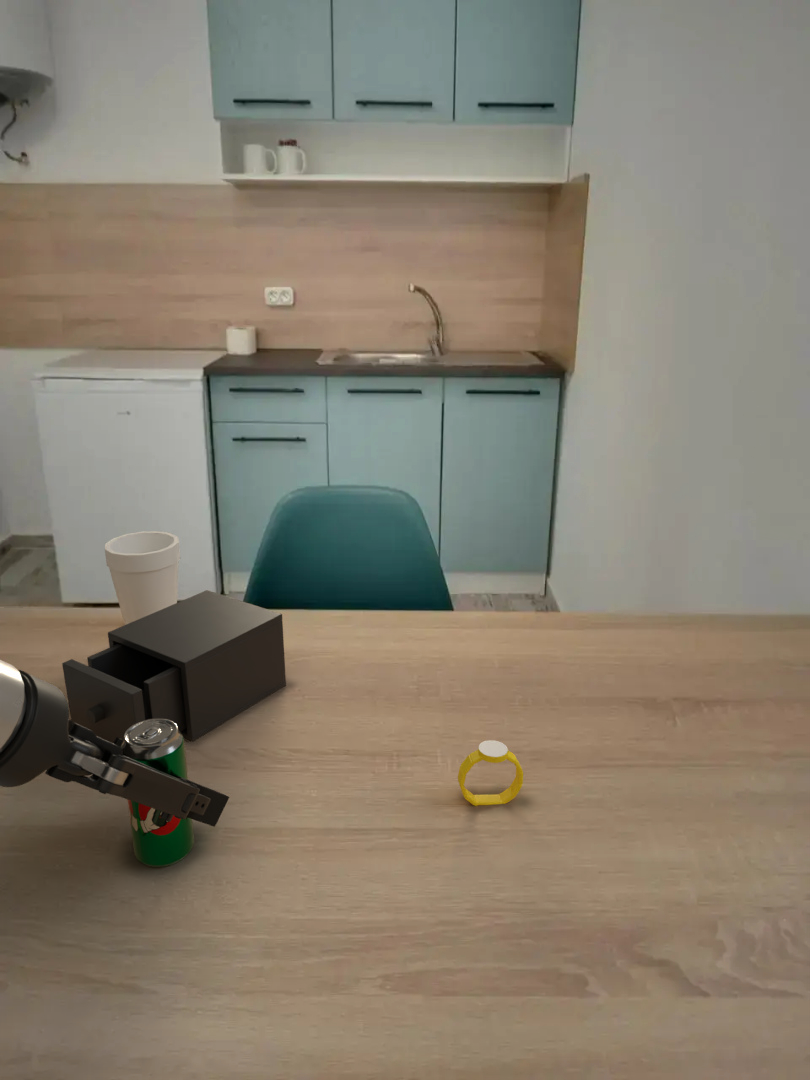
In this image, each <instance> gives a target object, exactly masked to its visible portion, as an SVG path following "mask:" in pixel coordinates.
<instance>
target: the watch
mask: <svg viewBox="0 0 810 1080" xmlns="http://www.w3.org/2000/svg"><path fill="white" fill-rule="evenodd" d="M506 760H507V761H509V762H511V763H512V764H514V766H515V777H514V779H513V781H512V782H511V783H510V786H509V787H508V788H506V789H505V790H504V791H503V790H502V792H500V793H498V794H473V793H472V792H471V791H470V790H468V789H467V788H466V787H465V782H466V777H467V774H468V773H469V772H470V770H471V769H472V768H473V766H474V765H476V764H478V763H479V762H482V761H484V762H487V763H491V764H499V763H502V762H505V761H506ZM458 768H459V769H458V773H457V781H458V784H459V788H460V790H461V794H462V796H463V798H464V799H465V800H466V801H467V802H469V803H470V804H471V805H472V806H475V807H478V806H494V805H495V806H496V805H505V804H507V803H509V802H511V801H512V800H514V799H515V798H516V797H517V796H518V794H519V792H520V790H521V789H522V787H523V784H524V771H523V768H522V766H521V763H520V762H519V760H518V758H517V757H516V755H515V754H514V753H513V752H512V751H510V750H509V748H508V747H507V745H506V744H505V743H503V742H502V741H498V740H495V739H494V740H491V739H489V740H484V741H482V742H480V743H479V745H478V747H477V749H476V750H474V751H472V752H470V753H469V754H468V755H467V756H466V757H465V759H463V761H462V762H461V764H460V766H459V767H458Z"/></svg>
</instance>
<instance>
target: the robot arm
mask: <svg viewBox="0 0 810 1080" xmlns="http://www.w3.org/2000/svg"><path fill="white" fill-rule="evenodd" d="M123 741H124V740H122V739H120V738H118V737H116V738H115V740H114V742H113V743H111V742H109V741H107V740H104V739H102V738H100V737H98V736H96V734H95V733H94V732H93V731H91V730H89V729H88V728H86V727H83V726H81V725H79V724H76V723H73V721H72V720H71V719H70V710H69V704H68V699H67V698H66V695H65V694H64V692H63V691H62V690H61V689H60V688H59V687H57V686H56V684H55V685H54V684H52V683H50V682H48V681H47V680H44V679H41V678H39V677H37V676H35V675H33V674H31V673H28V672H26V671H24V670H21V669H17V668H16V666H14V665H13V664H11V663H8V662H6V661H4V660H2V659H0V787H2V788H15V787H20V786H23V785H25V784H27V783H29V782H31V781H33V780H34V779H36V778H38V777H39V776H40V775H41V774H43V773H44V774H46V775H47V776H49V777H52V778H54V779H56V780H59V781H61V782H64V783H71V782H74V783H76V784H79V785H82V786H84V787H88V788H90V789H92V790H95V791H98V793H101V794H103V795H106V794H108V795H112V796H115V797H120V798H122V799H125V800H127V799H128V800H131V801H134V802H137V803H140V804H142V805H145V806H148V807H151V808H154V809H157V810H160V811H163V812H162V814H161V816H160V817H162V818H163V819H165V820H166V821H168V822H170V821H171V819H172V817H173V815H174V817H176V818H178V819H186V817H187V818H190V819H192V821H193V820H194V821H197V822H200V823H202V824H205V825H207V826H211V827H213V828H216V825H217V824H218V821H219V819H220V817H221V815H222V813H223V812H224V809H225V807H226V805H227V803H228V801H229V799H230V796H228V795H226V794H224V793H222V792H219V791H217V790H215V789H212V788H210V787H207V786H206V785H203V784H200V783H197V782H194V781H192V780H190V779H188V780H187V779H185V778H182V777H180V776H177V778H176V777H173V776H171V775H169V774H166V773H164V772H162V771H159V770H157V769H155V768H152V767H150V766H148V765H145V764H143V763H141V762H138V761H136V760H133V759H131V758H129V757H126V756H124V755H123V750H122V748H121V745H122V743H123Z"/></svg>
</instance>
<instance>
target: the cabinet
mask: <svg viewBox="0 0 810 1080" xmlns="http://www.w3.org/2000/svg"><path fill="white" fill-rule="evenodd" d="M283 625H284V624H283V613H280V612H277V611H274V610H271V609H267V608H265V607H261V606H258V605H255V604H253V603H248V602H246V601H242V600H239V599H236V598H234V597H229V596H227V595H224V594H221V593H217V592H213V591H211V590H208V589H206V590H204V591H202V592H199V593H197V594H195V595H192V596H190V597H187V598H185V599H183V600H181V601H177V603H176V604H173V605H171V606H169V607H166V608H164V609H162V610H159V611H157V612H155V613H152V614H150V615H148V616H145V617H143V618H140V619H138V620H136V621H133V622H131V623H129V624H126V625H125V624H124V625H122V626H120V627H117V628H115V629H113V630H110V631H107V638H108V648H110V647H112V646H114V645H116V644H119V643H120V644H123V645H125V646H128V647H130V648H133V649H135V650H138V651H140V652H143V653H145V654H148V655H150V656H153V657H155V658H158V659H160V660H163V661H165V662H168V663H170V664H173V665H175V666H177V667H180V668H181V677H182V686H183V696H184V706H185V716H186V725H187V728H186V729H184V730H183V731H181V734H182V735H183V737H184V740H187V741H189V742H192V743H193V742H196V741H197V740H199V739H200V738H202V737H203V736H205V735H207V734H208V733H210V732H212V731H214V730H216V729H217V728H218V727H220V726H222V725H224V724H226V723H227V722H228V721H230V720H232V719H234V718H235V717H237V716H238V715H241V714H242V713H243V712H245V711H247V710H248V709H250V708H252V707H253V706H255V705H256V704H258V703H260V702H261V701H263V700H265V699H266V698H268V697H270V696H271V695H273V694H275V693H276V692H278V691H280V690H281V689H283V688H285V687H286V686H287V679H286V678H287V676H286V660H285V659H286V657H285V643H284V642H285V641H284V626H283Z"/></svg>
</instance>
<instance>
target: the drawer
mask: <svg viewBox="0 0 810 1080" xmlns="http://www.w3.org/2000/svg"><path fill="white" fill-rule="evenodd" d="M86 660H87V664H84V663H82V662H80V661H77V660H76V659H73V658H71V659H68V660H66V661H64V662H62V665H61V666H62V670H63V678H64V684H65V691H66V697H67V698H66V699H67V703H68V707H69V718H70V720H72V721H73V723H76V724H79V725H81V726H83V727H86V728H88V729H89V730H91V731H93V732H94V733H95V734H96V736H98V737H100V738H102V739H104V740H107V741H109V742H111V743H113V742H114V740H115V738H116V737H118V738H120V739H122V740H124V734H125V732H126V731H127V729H129V728H130V727H131V726H133V725H134V724H136V723H138V722H141V721H144V720H148V719H167V720H171V721H173V722H174V723H175V724H176V725H177V727H178V730H179V731H180V732H181V731H183V730H184V729H186V728H187V725H186V716H185V706H184V696H183V686H182V677H181V668H180V667H177V666H175V665H173V664H170V663H168V662H165V661H163V660H160V659H158V658H155V657H153V656H150V655H148V654H145V653H143V652H140V651H138V650H135V649H133V648H130V647H128V646H125V645H123V644H120V643H119V644H116V645H114V646H112V647H107V648H105V649H102V650H101V651H98V652H96V653H94V654H92V655H90V656H87V659H86Z"/></svg>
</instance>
